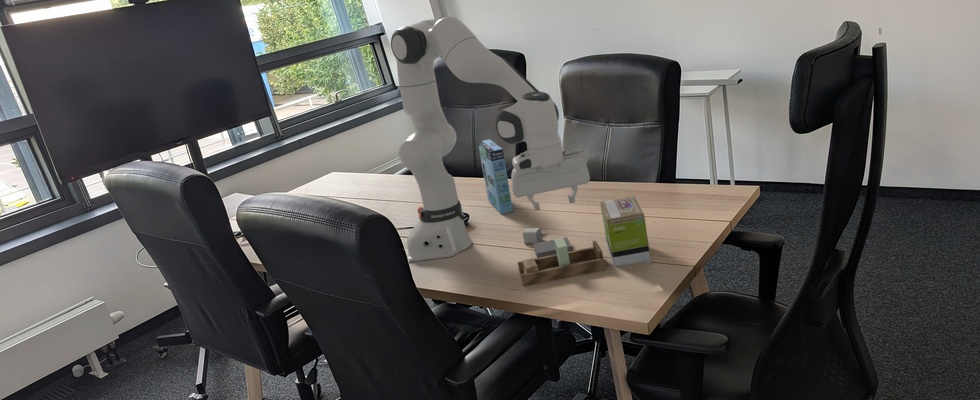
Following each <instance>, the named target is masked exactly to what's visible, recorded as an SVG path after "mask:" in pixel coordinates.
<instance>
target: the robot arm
mask: <svg viewBox="0 0 980 400" xmlns="http://www.w3.org/2000/svg"><path fill="white" fill-rule="evenodd" d="M390 48H391V51H392V54H393V56H394V57H395V59H396V61H397V62H396V66H397V69H396V70H397V80H398V86H399V91H400V98H401V102H402V107H403V111H404V113H405V114H406V115H407V116H409V117H410V119H411V121H412V123H413V126H414V128H415V131H414V132H413V133H412V134H410V135H408V136H407V137H406V138H405V139H404V141H402V143H401V144H400V145H399V149H398V158H399V161H400V163H401V164H402V165H403V166H404V168H406V169H408V170H409V171H410V172H411V174H412V176H413V177H414V178H415V181H416V183H417V186H418V189H419V191H420V197H421V202H422V206H418V207H417V213H418V219H419V221H418V222H417V223H416V225H414V227H413V228H412V229H411V230H410V231H409V233H408V235H407V238H406V239H407V240H406V243H407V245H406V246H405V247H404V249H405V250H406V253H407V257H408V260H409V262H408V263H412V262H419V261H427V260H434V259H435V260H436V259H442V258H443V259H444V258H450V257H454V256H455V255H457V254H458V253H459V252H461V251H462V252H463V251H464V250H465V249H467V248H469V247H470V246H471V245H472V244H473V240H472V238H471V237H470V234H469V232H468V229H467V228H466V224H465V222H464V211H463V207H462V204H461V201H460V200H459V197H458V191H457V187H456V182H455V178H454V177H453V176H452V174H449V173H448V170H447V169H446V167H445V165H444V163H443V158H444V157H445V156H447V155H448V154H450V152H452V150H453V148H454V147H455V145H456V143H457V132H456V130H455V129H454V127H453V126H452V125H451V124H450V123H449V122H448V120H447V118H446V116H445V114H444V111H443V108H442V105H441V100H440V96H439V90H438V84H437V78H436V74H435V73H436V72H435V69H434V67H435V66H434V63H435V61H436V60H437V59H438V58H441V60H442V61H443V62H444V64H445V66H447V68H448V69H449V70H450V72H451V73H452V74H453V75H454V76H455V77H456V78H458V79H459V80H460V81H462V82H465V83H472V84H490V85H491V84H492V85H497V86H499V87H501V88H503V89H504V90H506V91H507V92H508V93H509V94H510V95H511V96H512V97H513V98H514V99H515V100H516V102H515V103H514V104H511V105H510V106H507V107H506V108H504V109H502V110H501V111H499V112H498V114H497V115H496V118H495V128H496V129H495V130H496V132H497V135H498V137H500V139H501V140H502V141H503V142H505V143H507V144H510V145H514V144H519V143H522V142H525V143H526V148H527V150H525V151H524V152H521V153H519V154H518V155H516V156H514V157H513V158H512V160H511V161H512V162H511V163H512V167H513V169H512V170H511V176H510V177H511V180H510V181H511V189H512V194H513V196H515V198H524V197H526V196H527V197H526V198H527V199H528V201H530V203H531V204H532V207H533V209H534V211H539V210H541V207H540V202H539V201H535V200H534V195H536V194H537V195H538V194H543V193H547V192H551V191H556V190H557V191H558V190H562V189H567V188H571V190H572V191H571V194H570V195H568V197H567V198H568V202H569V204H573V203H576V195H577V192H578V190H579V189H578V186H582V185H587V184H588V183H589V182H590V180H591V178H590V171H589V168H588V165H587V163H588V160H589V159H588V154H587V152H586V151H585V150H584V149H580V148H575V149H573V150H571V149H570V150H565V151H564V150H563V144H562V139H561V137H560V135H559V121H560V120H559V118H560V114H559V113H560V112H559V108H558V106H557V105H556V103H555V102H554V101H553V99H552V96H551V95H550V94H549V93H546V92H544V91H540V90H538V88H536V86H534V85H533V84H532V82H530V81H529V80H528V79H527V78H526V76H524V75H523V74H522V73H521V72H520V71H519V70H518V69H517V68H516V67H514V65H512V64H511V63H510V62H509V61H508V60H506V59H505V58H503V57H502V56H499V55H497V54H495V52H493V51H491V50H490V49H489V48H487V47H486V46H485V45H484V44H483V43H482V42H481V41H480V40H479V38H478V37H477V36H476V35H475V34H474V33H473V32H472V31H471V30H470V29H469V27H468V26H466V24H464V23H463V22H462V21H461V20H460V19H459V18H457V17H455V16H452V15H450V16H445V17H439V18H432V19H425V20H421V21H420V22H415V23H412V24H409V25H404V26H402V27H399V28H398V29H396V30H395V31H393V34H392V35H391V39H390Z"/></svg>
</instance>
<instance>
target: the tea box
mask: <svg viewBox="0 0 980 400" xmlns="http://www.w3.org/2000/svg"><path fill="white" fill-rule="evenodd" d="M600 208H601V217H602V222H603V227H604V228H603V229H604V233H605V234H604V235H605V239H606V244H607V245H606V246H607V250H608V252H609V256H610V258H611V261H612V264H613V266H614V267H619V266H625V265H631V264H637V263H643V265H648V264H651V263H652V259H651V253H650V245H649V240H648V239H649V238H648V233H647V225H646V218H645V214H644V211H643V210H642V208H641V206H640V204H639V203H638V200H637V198H636V197H635V195H634V196H633V195H632V196H627V197H621V198H617V199H611V200H606V201H605V200H604V201H600Z"/></svg>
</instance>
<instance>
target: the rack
mask: <svg viewBox="0 0 980 400" xmlns="http://www.w3.org/2000/svg"><path fill="white" fill-rule="evenodd" d="M568 255H569V261H570V265H565V266H560V267H559V264H558V259H557V254H555V255H550V256H545V257H540V258H537V257H536V258H533V259H534V261H535V262H536V264H537V266H538V271H535V272H530V273H524V268H523V261H522V260H521V261H517V266H518V267H517V268H518V273H519V275H520V279H521V283H522V286H523V287H528V286H533V285H537V284H542V283H547V282H553V281H557V280H561V279H567V278H572V277H577V276H582V275H587V274H592V273H598V272H602V271H603V272H604V271H606V263H605V259H604V255H603V250H602V248H601V246H600V245H599V244H598V242H597V241H596V240H594V241H593V240H592V247H586V248H581V249H575V250H572V251H570V252H568Z"/></svg>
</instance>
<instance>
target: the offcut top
mask: <svg viewBox="0 0 980 400" xmlns="http://www.w3.org/2000/svg"><path fill="white" fill-rule="evenodd" d="M534 259H535V258H534V257H531V258H527V259H523V260H521V261H523V267H524V269H525V271H526V273H530V272H535V271H538V266H537V264H536V262H535V261H534Z"/></svg>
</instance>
